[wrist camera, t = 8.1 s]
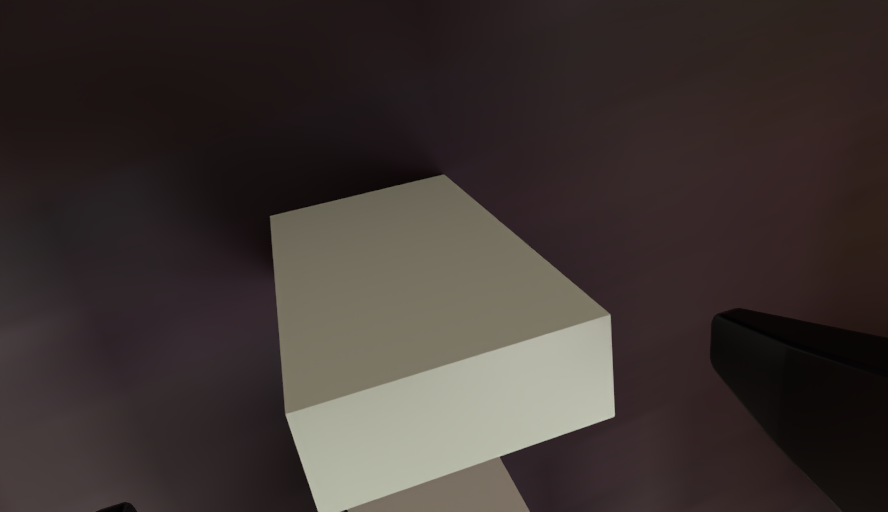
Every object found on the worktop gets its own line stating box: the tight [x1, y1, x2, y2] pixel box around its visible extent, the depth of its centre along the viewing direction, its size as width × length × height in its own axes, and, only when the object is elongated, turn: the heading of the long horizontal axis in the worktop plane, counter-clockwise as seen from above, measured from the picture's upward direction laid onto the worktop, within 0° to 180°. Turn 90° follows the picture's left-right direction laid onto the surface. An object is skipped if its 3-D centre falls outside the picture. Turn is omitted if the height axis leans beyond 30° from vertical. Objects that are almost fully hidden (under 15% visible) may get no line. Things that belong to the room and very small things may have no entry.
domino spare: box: [270, 175, 615, 512], centre depth 13 cm, size 2×5×9 cm, turn 99°
